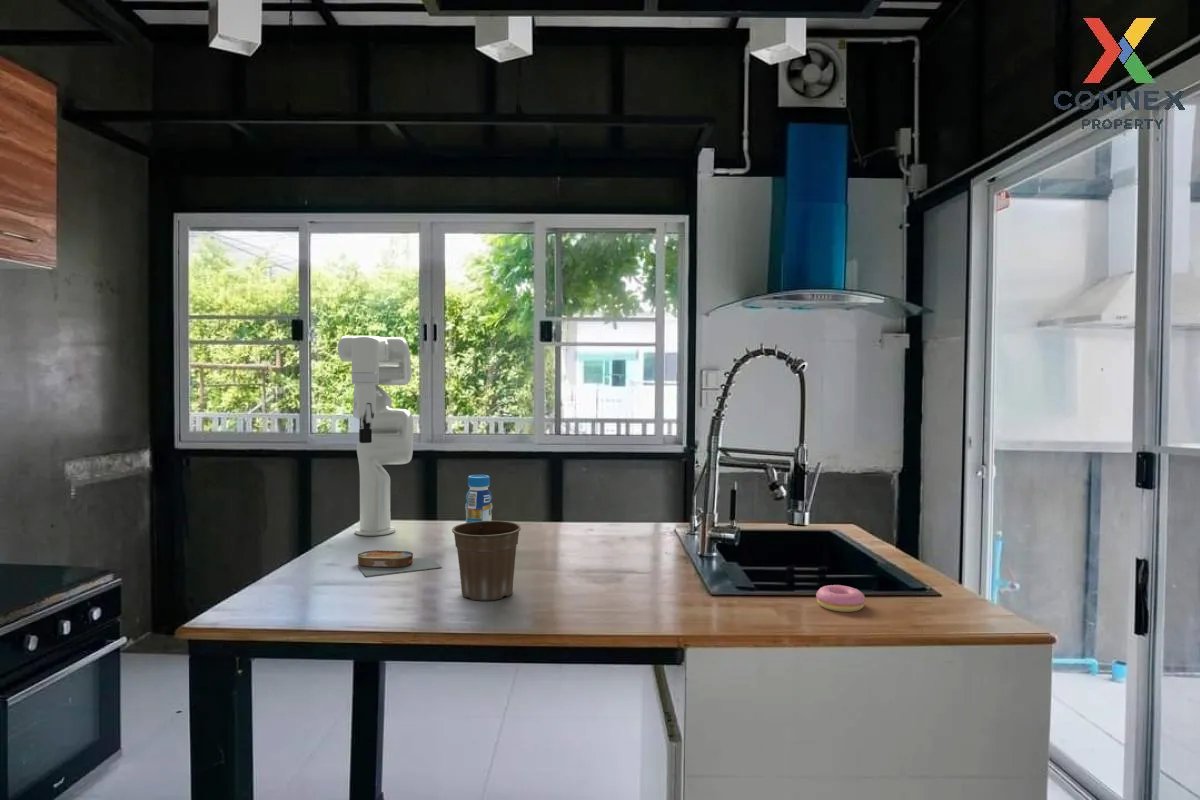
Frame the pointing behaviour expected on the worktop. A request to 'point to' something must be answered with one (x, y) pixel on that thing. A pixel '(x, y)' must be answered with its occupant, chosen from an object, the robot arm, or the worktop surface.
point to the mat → (414, 566)
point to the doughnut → (840, 598)
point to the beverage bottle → (478, 499)
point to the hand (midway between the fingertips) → (365, 442)
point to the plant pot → (486, 558)
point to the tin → (385, 558)
